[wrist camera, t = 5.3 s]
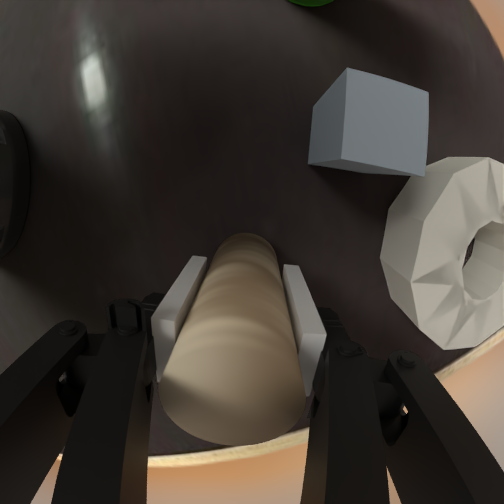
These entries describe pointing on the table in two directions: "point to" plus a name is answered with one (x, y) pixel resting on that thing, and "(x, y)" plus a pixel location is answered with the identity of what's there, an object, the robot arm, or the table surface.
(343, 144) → the square peg
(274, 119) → the table surface
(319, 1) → the cup
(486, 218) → the socket
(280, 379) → the dowel
